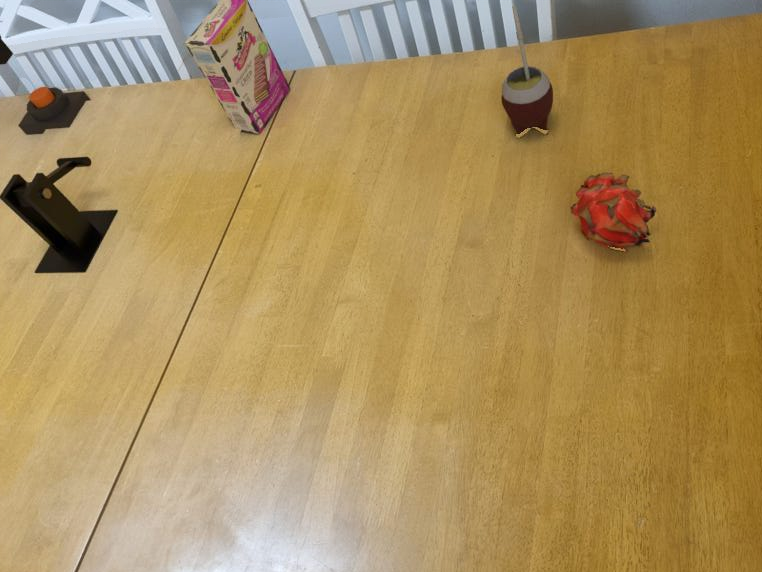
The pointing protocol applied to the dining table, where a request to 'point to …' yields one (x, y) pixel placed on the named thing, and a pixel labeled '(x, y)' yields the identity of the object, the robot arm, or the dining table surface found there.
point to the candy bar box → (239, 64)
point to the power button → (41, 97)
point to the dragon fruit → (612, 212)
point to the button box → (53, 112)
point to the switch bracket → (59, 224)
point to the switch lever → (54, 175)
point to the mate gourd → (526, 92)
